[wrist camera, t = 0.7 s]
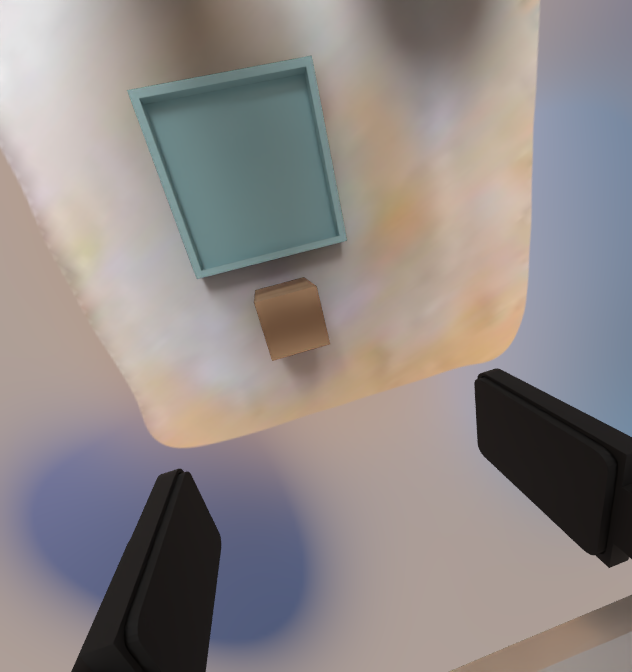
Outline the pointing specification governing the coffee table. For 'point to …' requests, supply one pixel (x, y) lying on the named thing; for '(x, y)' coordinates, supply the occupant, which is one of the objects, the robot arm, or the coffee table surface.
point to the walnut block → (291, 317)
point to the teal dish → (244, 163)
